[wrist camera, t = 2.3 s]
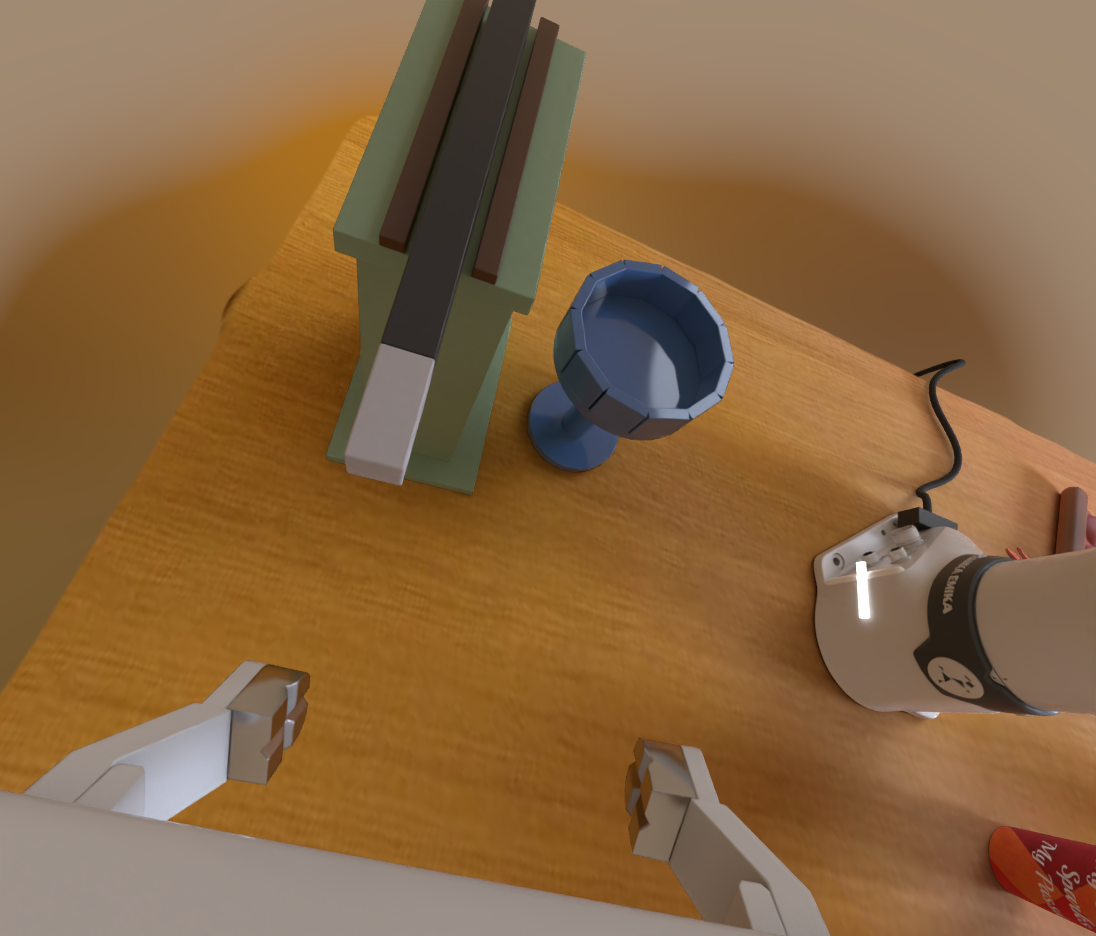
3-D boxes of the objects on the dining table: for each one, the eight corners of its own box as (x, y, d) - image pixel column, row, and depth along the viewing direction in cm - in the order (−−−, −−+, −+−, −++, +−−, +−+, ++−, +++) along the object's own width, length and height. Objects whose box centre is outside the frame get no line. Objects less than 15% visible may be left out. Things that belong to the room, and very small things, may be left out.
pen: (401, 486, 17) (404, 470, 16) (345, 473, 17) (342, 455, 15) (526, 37, 26) (537, -4, 24) (491, 21, 25) (500, -22, 24)
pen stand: (471, 495, 45) (582, 327, 21) (326, 459, 42) (262, 218, 18) (509, 324, 51) (628, 44, 27) (386, 284, 48) (398, -68, 24)
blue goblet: (583, 353, 53) (665, 240, 38) (650, 450, 52) (762, 373, 37) (486, 402, 48) (536, 295, 33) (558, 511, 47) (644, 451, 32)
